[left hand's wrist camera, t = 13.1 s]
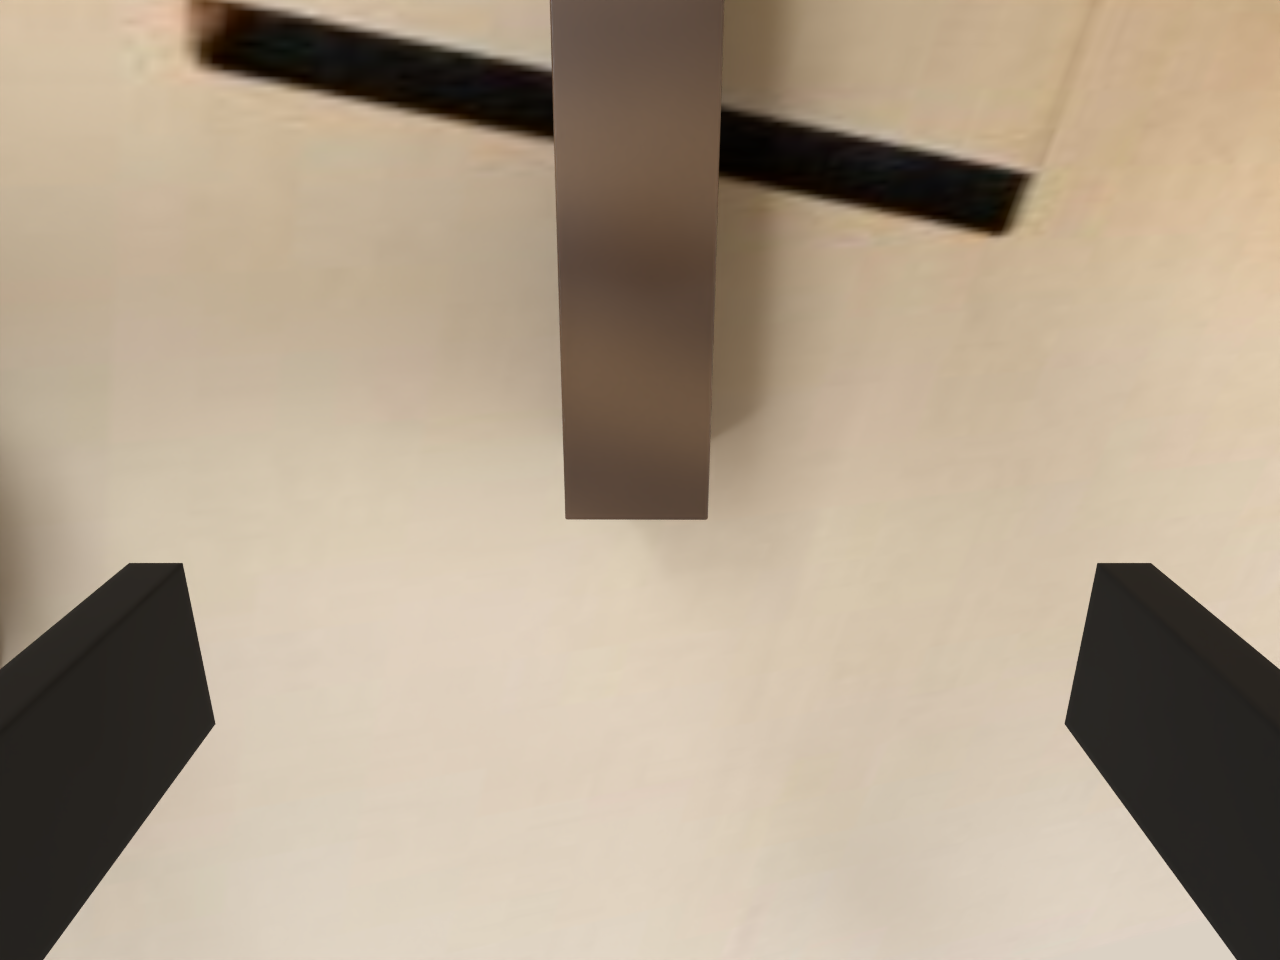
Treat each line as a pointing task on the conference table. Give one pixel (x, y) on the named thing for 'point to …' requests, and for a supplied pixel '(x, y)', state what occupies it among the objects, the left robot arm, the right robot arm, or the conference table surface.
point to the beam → (636, 250)
